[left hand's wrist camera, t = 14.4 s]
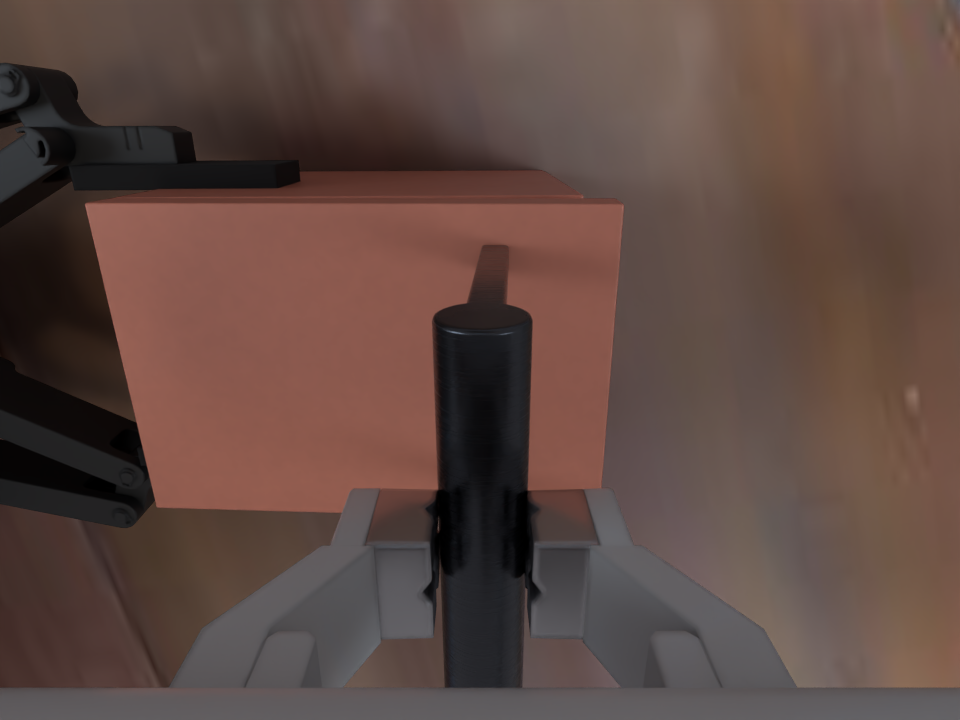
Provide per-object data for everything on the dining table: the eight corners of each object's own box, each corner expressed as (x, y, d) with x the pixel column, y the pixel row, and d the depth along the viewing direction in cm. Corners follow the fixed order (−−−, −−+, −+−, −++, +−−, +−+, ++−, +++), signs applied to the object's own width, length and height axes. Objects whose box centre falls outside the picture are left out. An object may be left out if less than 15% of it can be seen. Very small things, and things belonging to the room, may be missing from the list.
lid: (616, 198, 16) (721, 270, 8) (593, 497, 19) (651, 762, 11) (113, 197, 17) (-263, 263, 9) (176, 486, 20) (-51, 728, 12)
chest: (543, 170, 27) (584, 194, 17) (537, 365, 30) (568, 482, 20) (248, 171, 27) (113, 197, 17) (275, 367, 30) (176, 485, 20)
